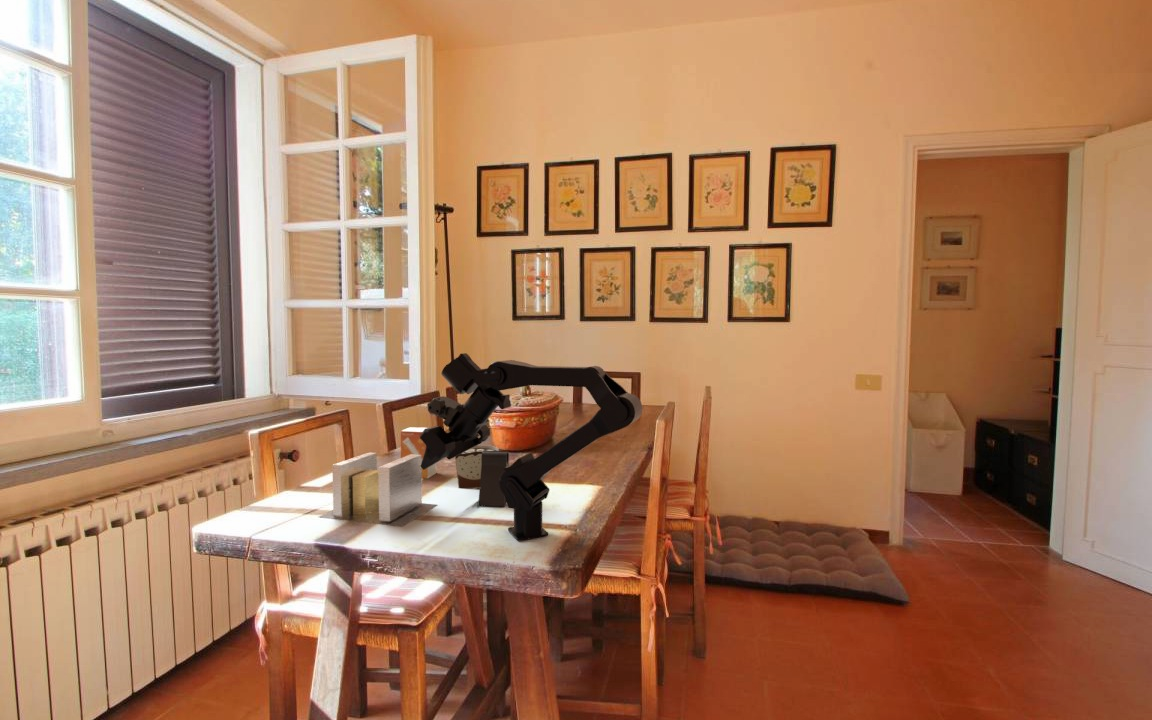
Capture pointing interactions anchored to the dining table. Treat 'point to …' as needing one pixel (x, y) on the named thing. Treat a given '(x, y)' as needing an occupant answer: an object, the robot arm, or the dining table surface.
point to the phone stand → (492, 478)
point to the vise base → (376, 516)
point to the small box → (415, 448)
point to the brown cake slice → (471, 466)
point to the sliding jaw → (399, 487)
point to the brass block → (365, 492)
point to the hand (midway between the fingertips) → (435, 462)
